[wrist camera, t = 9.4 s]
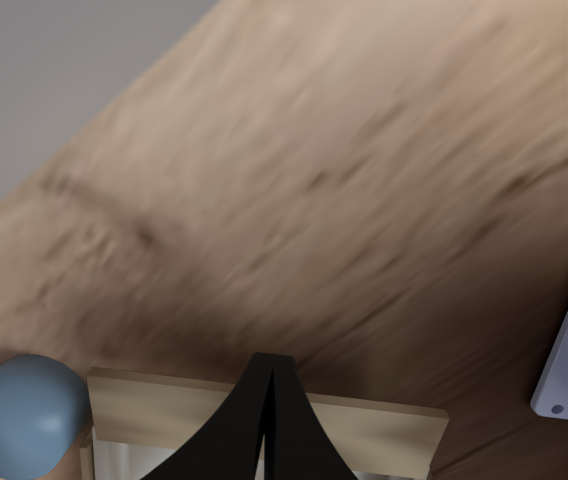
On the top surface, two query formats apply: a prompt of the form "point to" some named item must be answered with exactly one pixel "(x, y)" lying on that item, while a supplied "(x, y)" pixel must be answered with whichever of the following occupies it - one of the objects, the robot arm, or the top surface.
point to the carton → (154, 461)
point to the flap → (210, 395)
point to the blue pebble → (38, 414)
